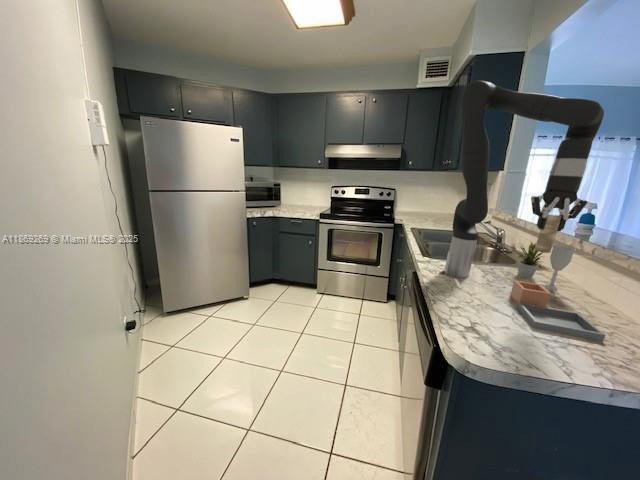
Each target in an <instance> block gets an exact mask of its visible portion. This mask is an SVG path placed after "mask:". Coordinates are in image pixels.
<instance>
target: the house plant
mask: <svg viewBox="0 0 640 480" xmlns="http://www.w3.org/2000/svg"><path fill="white" fill-rule="evenodd" d="M536 243H537V242H536ZM536 243H533V241H530V244H529V246H528V250H526V249H525V246H524V245H523V244H522V243H521V242H519V244H517V247H519V248H520V249H521V251H518V250H515V249H514V251H515V253H513V255H519V256H518V257H517V259H518V258H520V260H518V266H517V268H518V269H517V276H519V277H522V278H525V279H532V278H533V277H534V275H535V273H536V271H537V270H538V268H539V264H538V263H541V262H542V263H544V261H541V258H544V255H543V256H541V255H542V254H545V253H544V252H539V251H536V250H535V246H536ZM527 251H528V252H527Z"/></svg>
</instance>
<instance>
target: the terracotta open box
mask: <svg viewBox="0 0 640 480" xmlns="http://www.w3.org/2000/svg"><path fill="white" fill-rule="evenodd" d="M550 296H551V292H549V290H548V289H547V288H545V287H544V286H543V285H541V284H540V283H533V282H529V281H528V282H527V281H521V280H515V279H514V280H513V285H512V288H511V291H510V293H509V297H511V299H513V301H514V302H515V303H516V305H518V302H520V303H526V304H531V305H537V306H543V307H547V306H548V302H549V300H550V298H551V297H550Z"/></svg>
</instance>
